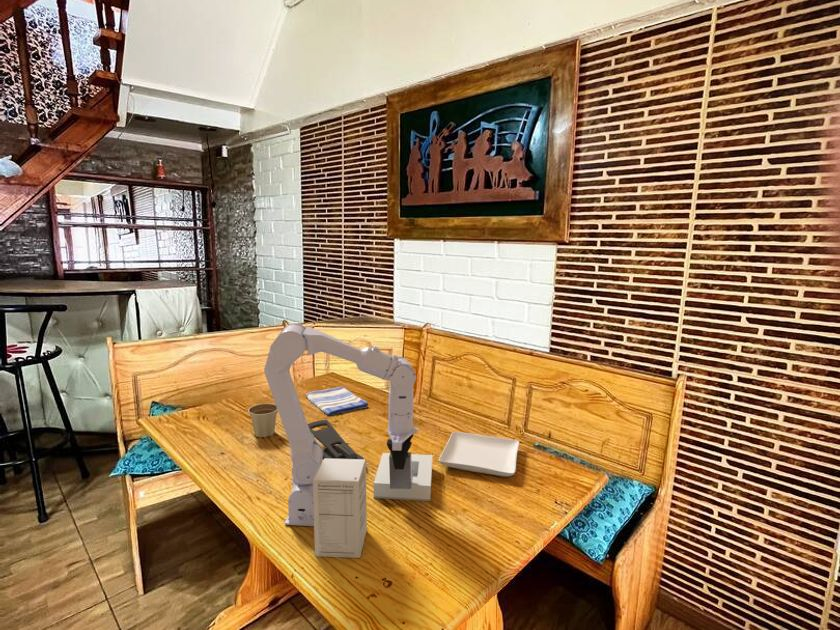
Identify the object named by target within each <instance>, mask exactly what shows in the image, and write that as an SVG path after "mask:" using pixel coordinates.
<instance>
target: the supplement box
mask: <svg viewBox="0 0 840 630" xmlns="http://www.w3.org/2000/svg"><path fill="white" fill-rule="evenodd" d="M313 504H314V507H313V509H314V526H313V535H314V538H313V539H314V540H313V541H314V556H315V557H322V558H323V557H325V558H326V557H327V558H329V557H330V558H350V559H351V558H352V559H355V558H356V559H360V558H361V554H362V551H363V548H364V543H365V540H366V536H367V530H368V528H367V526H368V523H367V520H368V519H367V514H368V513H367V460H366V459H365V458H363V459H326V458H324V460H323V459H322V463H321V466H320V468H319V470H318V472H317V474H316V476H315V478H314V479H313Z"/></svg>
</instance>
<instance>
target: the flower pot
mask: <svg viewBox="0 0 840 630" xmlns="http://www.w3.org/2000/svg"><path fill="white" fill-rule="evenodd" d="M247 412H248V414H249V417H250V419H251V425H252V429H253V435H254V436H255V437H256V438H262V437H264V438H267V437H271V436H273V435H274V434H275V429H276V421H277V414H278V413H279V412H278V409H277V407H276V404H275V403H268V402H267V403H258V404H254V405H253V406H250V407H249V408H248V409H247Z"/></svg>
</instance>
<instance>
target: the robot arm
mask: <svg viewBox="0 0 840 630" xmlns="http://www.w3.org/2000/svg"><path fill="white" fill-rule="evenodd" d="M305 351H307V353H306V355H307V356H311V355H315V354H318V353H325V354H327V355H331V356H333V357H337V358H340V359H341V360H346V361H348V362H351V363H353V364H356V367H357V369H358V371H360V372H362V373H366V374H368V375H370V376H374V377H376V378H378V379H381V380H384V381H389V391H388V418H387V419H388V423H387V424H388V427H387V434H388V436H389V438H388V439H387V441H386V446H387V448H388V450H389V453H390V452H391V455H392V459H393V464H394V468H395V469H402V470H403V469H404V466H405V461H406V456H407V452H409V451H410V448H411V446H412V443H413V442H412V441H411V440H412V439H413V437H414V435H416V434H417V435H418V431H419V429H418V427H414V395H415V393H414V384H415V382H416V381H417V380H416V379H417V375H416V372H415V369H414V368H413V365H412V363H411V362H410V361H409V360H408V359H406V358H405V357H404V356H399V355H397V354H393V355H391V354H388V353H386V352H384V351H382V350H380V347H378V346H376V345H374V346H373V347H371V346H366V347H363V348H359V347H356V346H355V345H352V344H350V343H348V342H346V341H343V340H341V339H338V338H336V337H334V336H332V335H329V334H327V333H324V332H323V331H320V330H318V329H315V328H313V327H310V326H305V325H303V324H301V323H296V322H293V323H290V324H287V325H286V326H284V328H283V329H282V330H280V333H279V334H278V335H277V337H275V340H274V341H273V342H272V343H271V344H270V346H269V351H268V356H267V358H266V361H265V365H264V370H263V372H264V376H265V379H266V381H267V385H268V386H269V387H268V388H269V389H270V393H271V395H272V399H273V401H274V404H275V405H276V407H277V409H278V412H277V413H278V415H279V418H280V421H281V423H282V426H283V429H284V432H285V434H286V437H287V439H288V442H289V451H290V459H291V462H292V468H291V476H292V477H291V479H292V480H291V481H292V489H291V492H290V493H289V495H288V500H287V504H288V516H287V518H286V519H285V521H284V524H285V525H288V526H300V527H301V526H303V527H304V526H305V527H314V509H313V507H314V504H313V479H314V478H315V476H316V474H317V472H318V470H319V468H320V466H321V464H322V462H323V459H322V458H323V450H324V449H323V447H322V444H321V443H320V442H319V441H318V440H317V439H316V438H315V437H314V435H313V434H312V433H311V432H310V430H309V427H308V424H309V423H308V421H307V419H306V417H305V412H304V410H303V406H302V403H301V400H300V398H299V396H298V392H297V388H296V387H295V384H294V381H293V377H292V375H291V372H290V368H292V366H293V364H294V363H295V362H296V361H297V360H298V359H299V358H301V357H302V356H303V355H304V353H305Z"/></svg>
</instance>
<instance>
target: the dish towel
mask: <svg viewBox="0 0 840 630" xmlns="http://www.w3.org/2000/svg"><path fill="white" fill-rule="evenodd" d="M305 398H307V399H308V401H309V402H310V403H311V404H312V405H314V406H315V407H316V408H318V409H319V410H320V411H321V410H322V411H321V412H323V413H324V414H325V415H327V416H334V415H339V414H345V413H349V411H350V412H354V410H355V411H359V410H358V409H360V410H364V409H368V405H369V403H368V402H367V400H364V399H362V398H361V397H359V396H357V395H355V394H354V393H353V392H351V390H348V389H347V388H345V387H344V385H343V386H338V387H333V388H325V389H322V390H315V391H310V392H307V393H306V395H305ZM363 408H364V409H363Z"/></svg>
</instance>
